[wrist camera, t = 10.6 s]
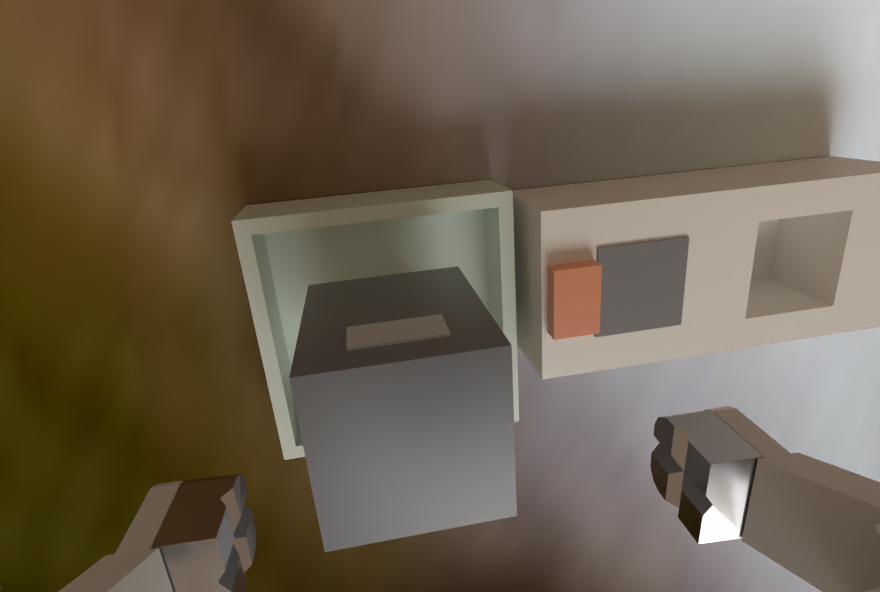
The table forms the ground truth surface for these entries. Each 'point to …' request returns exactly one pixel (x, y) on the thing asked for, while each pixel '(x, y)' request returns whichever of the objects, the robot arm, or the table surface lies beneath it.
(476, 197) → the parts tray
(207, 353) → the table surface
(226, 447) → the table surface
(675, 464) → the robot arm
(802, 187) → the power strip
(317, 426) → the block
